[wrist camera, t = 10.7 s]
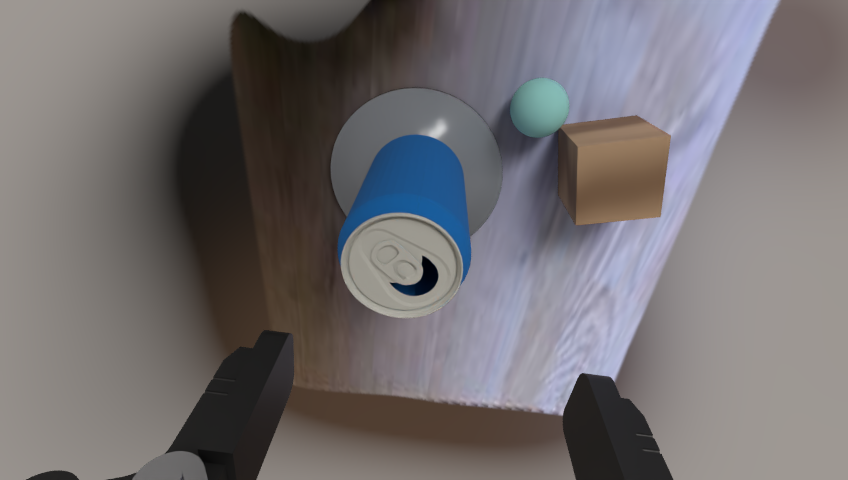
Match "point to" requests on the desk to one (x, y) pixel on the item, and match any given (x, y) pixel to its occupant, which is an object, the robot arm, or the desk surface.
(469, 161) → the coaster
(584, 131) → the walnut cube
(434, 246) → the beverage can
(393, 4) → the desk surface
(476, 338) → the desk surface
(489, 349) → the desk surface
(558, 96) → the teal ball
